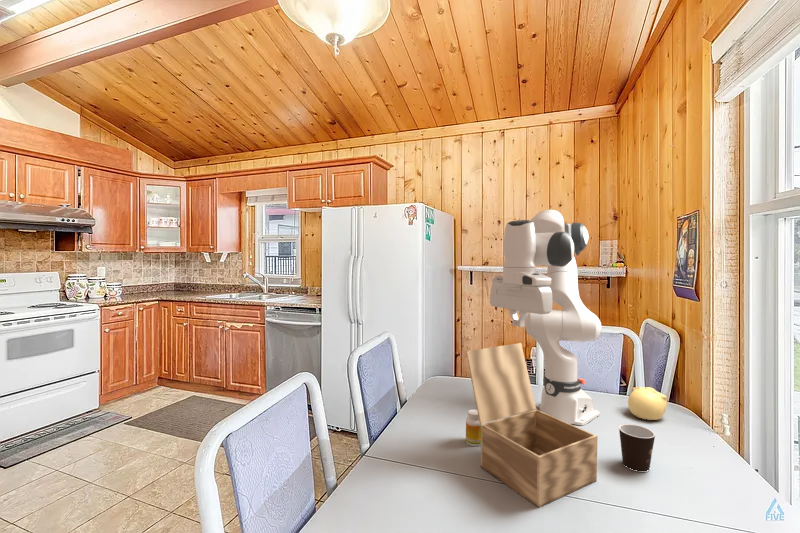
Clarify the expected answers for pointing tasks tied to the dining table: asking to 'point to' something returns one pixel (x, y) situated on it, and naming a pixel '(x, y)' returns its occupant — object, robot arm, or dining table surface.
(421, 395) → the dining table surface
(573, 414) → the robot arm
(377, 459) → the dining table surface
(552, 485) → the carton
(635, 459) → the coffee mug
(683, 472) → the dining table surface
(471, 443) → the supplement bottle
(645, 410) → the sculpture
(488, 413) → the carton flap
